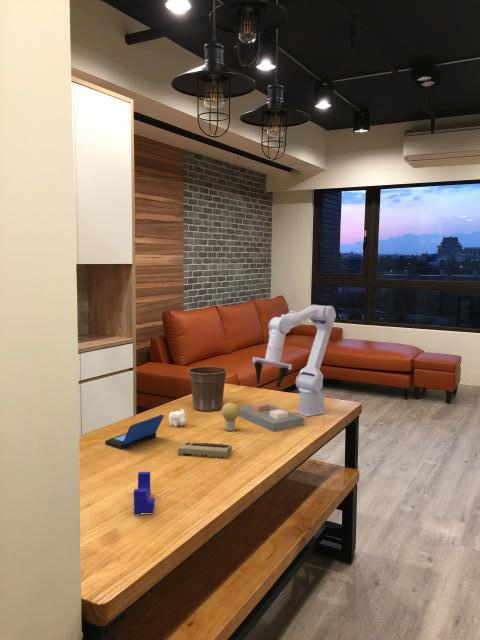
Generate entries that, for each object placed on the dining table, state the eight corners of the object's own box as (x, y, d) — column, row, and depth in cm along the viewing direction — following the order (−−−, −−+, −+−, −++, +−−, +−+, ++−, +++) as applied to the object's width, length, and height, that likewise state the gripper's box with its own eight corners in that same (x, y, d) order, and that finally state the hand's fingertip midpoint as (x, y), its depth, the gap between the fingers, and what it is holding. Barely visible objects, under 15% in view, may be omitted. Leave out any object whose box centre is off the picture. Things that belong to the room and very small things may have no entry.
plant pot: (193, 401, 231) (193, 365, 229) (229, 403, 229) (230, 366, 227) (184, 412, 215) (183, 373, 213) (223, 414, 213) (223, 374, 211)
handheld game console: (137, 432, 190) (137, 407, 189) (165, 440, 182) (165, 413, 181) (103, 444, 177) (102, 417, 176) (131, 453, 170) (130, 425, 169)
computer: (231, 451, 173) (231, 441, 172) (227, 460, 165) (227, 449, 164) (184, 448, 175) (184, 438, 175) (178, 457, 167) (177, 446, 167)
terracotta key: (261, 409, 213) (261, 402, 213) (268, 412, 209) (269, 404, 209) (251, 411, 210) (251, 403, 210) (258, 414, 206) (258, 406, 206)
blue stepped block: (153, 514, 129) (152, 491, 128) (134, 515, 128) (133, 491, 128) (156, 493, 140) (155, 471, 140) (138, 494, 140) (138, 472, 139)
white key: (279, 416, 203) (280, 409, 203) (288, 420, 199) (288, 412, 199) (269, 418, 200) (269, 411, 200) (277, 422, 196) (277, 414, 196)
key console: (265, 410, 219) (265, 402, 218) (303, 425, 199) (303, 417, 198) (236, 415, 211) (236, 408, 211) (273, 431, 191) (273, 423, 191)
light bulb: (239, 427, 196) (240, 400, 194) (238, 433, 189) (238, 405, 188) (222, 426, 196) (222, 400, 195) (220, 432, 190) (220, 405, 189)
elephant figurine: (178, 430, 192) (178, 414, 192) (162, 425, 197) (162, 410, 197) (190, 425, 198) (190, 409, 197) (175, 421, 203) (175, 406, 202)
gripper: (257, 345, 193) (249, 382, 192) (296, 353, 194) (288, 389, 193) (254, 345, 200) (247, 380, 199) (292, 353, 201) (285, 388, 200)
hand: (267, 385), depth 196 cm, fingers open, 7 cm apart
